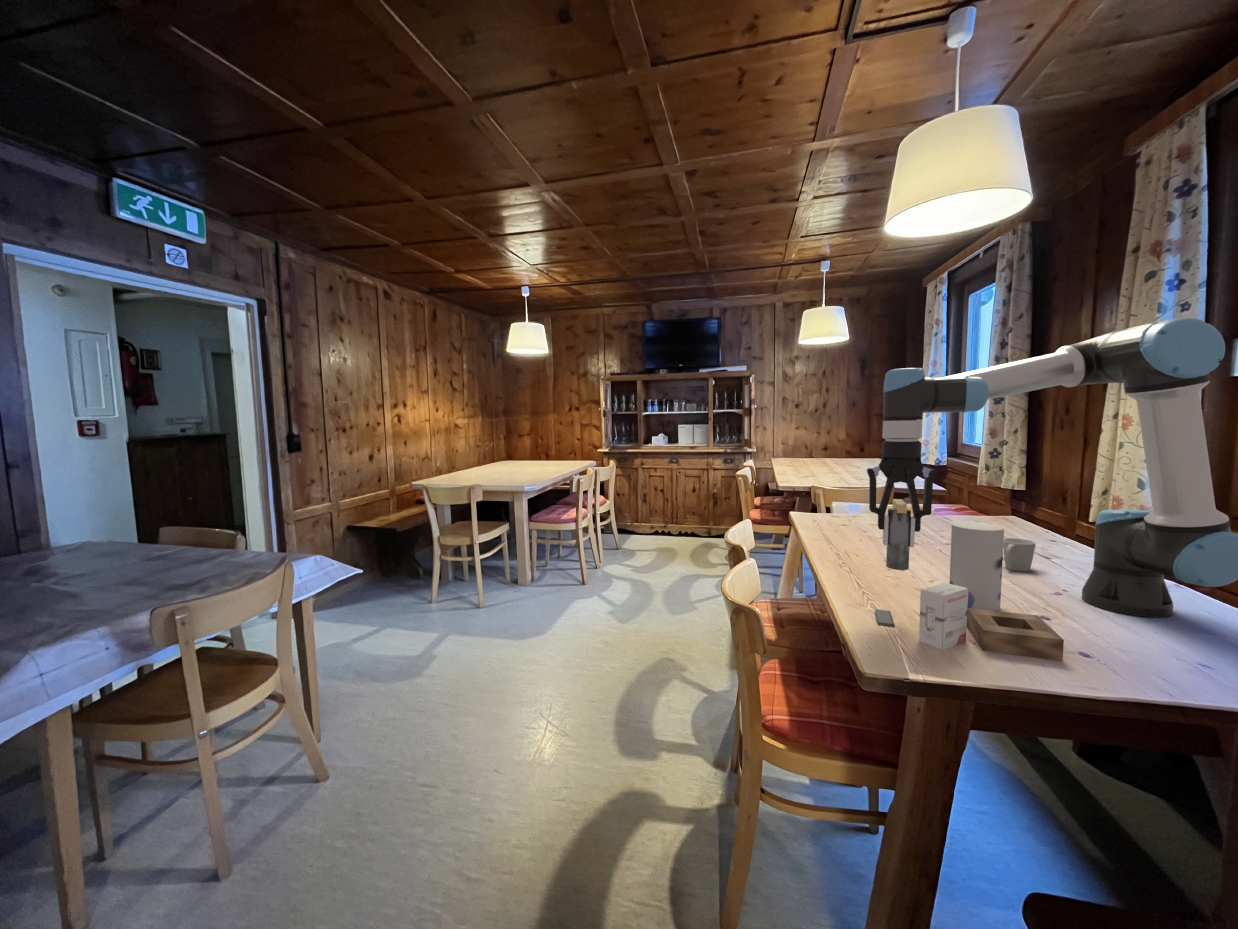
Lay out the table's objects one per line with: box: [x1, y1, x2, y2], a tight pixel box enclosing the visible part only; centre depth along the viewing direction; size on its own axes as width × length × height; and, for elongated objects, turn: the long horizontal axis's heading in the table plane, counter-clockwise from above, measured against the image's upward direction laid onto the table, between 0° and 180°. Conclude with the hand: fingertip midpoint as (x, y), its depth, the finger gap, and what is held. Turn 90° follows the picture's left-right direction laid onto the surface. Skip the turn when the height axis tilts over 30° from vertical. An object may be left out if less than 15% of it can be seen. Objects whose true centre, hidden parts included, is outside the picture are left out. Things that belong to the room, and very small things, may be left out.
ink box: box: [918, 582, 968, 651], centre depth 98 cm, size 9×5×12 cm, turn 118°
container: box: [949, 520, 1005, 611], centre depth 117 cm, size 10×10×20 cm
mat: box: [874, 608, 896, 628], centre depth 111 cm, size 8×8×1 cm
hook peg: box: [885, 498, 912, 571], centre depth 109 cm, size 8×4×15 cm, turn 157°
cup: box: [1003, 537, 1036, 573], centre depth 145 cm, size 8×10×8 cm
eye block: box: [966, 608, 1065, 662], centre depth 97 cm, size 12×12×5 cm
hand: (898, 544), depth 110 cm, fingers closed on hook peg, 4 cm apart
